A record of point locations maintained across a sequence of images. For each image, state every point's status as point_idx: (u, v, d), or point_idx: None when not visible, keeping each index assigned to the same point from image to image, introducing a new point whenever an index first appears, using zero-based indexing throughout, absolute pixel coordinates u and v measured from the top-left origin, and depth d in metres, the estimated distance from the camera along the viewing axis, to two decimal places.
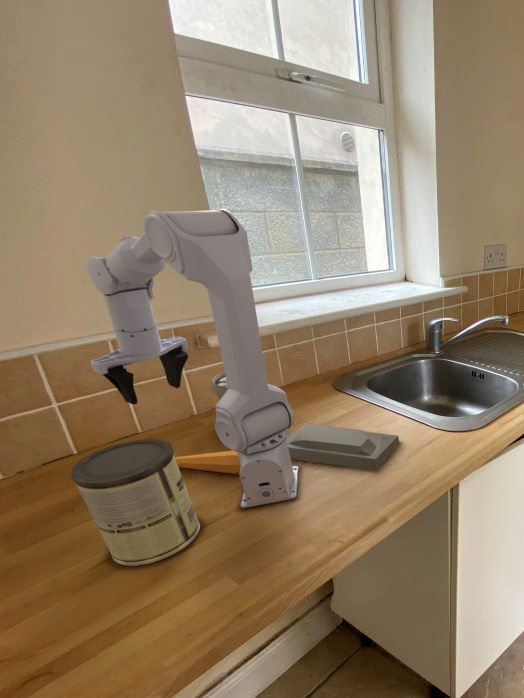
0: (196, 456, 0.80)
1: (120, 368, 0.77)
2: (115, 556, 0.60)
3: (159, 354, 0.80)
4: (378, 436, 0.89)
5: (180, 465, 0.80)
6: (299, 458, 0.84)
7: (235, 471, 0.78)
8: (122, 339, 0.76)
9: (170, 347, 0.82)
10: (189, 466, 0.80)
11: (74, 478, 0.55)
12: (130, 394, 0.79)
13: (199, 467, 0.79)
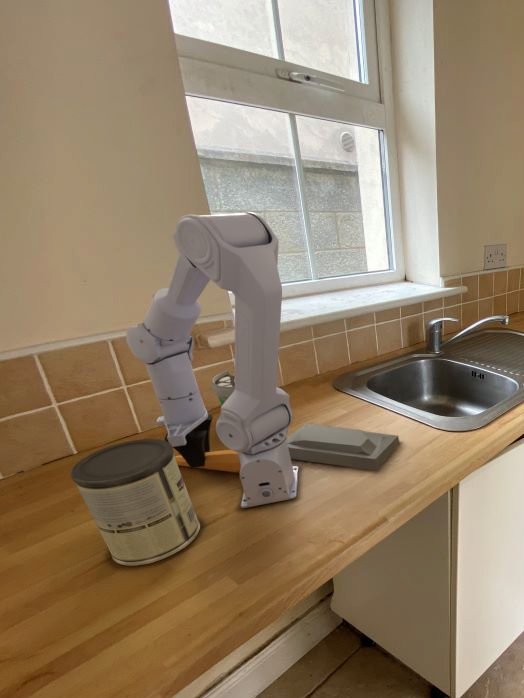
0: None
1: (191, 430, 0.76)
2: (115, 556, 0.60)
3: None
4: (378, 436, 0.89)
5: (181, 463, 0.80)
6: (299, 458, 0.84)
7: (236, 469, 0.79)
8: (181, 406, 0.73)
9: None
10: None
11: (74, 478, 0.55)
12: (203, 454, 0.78)
13: None
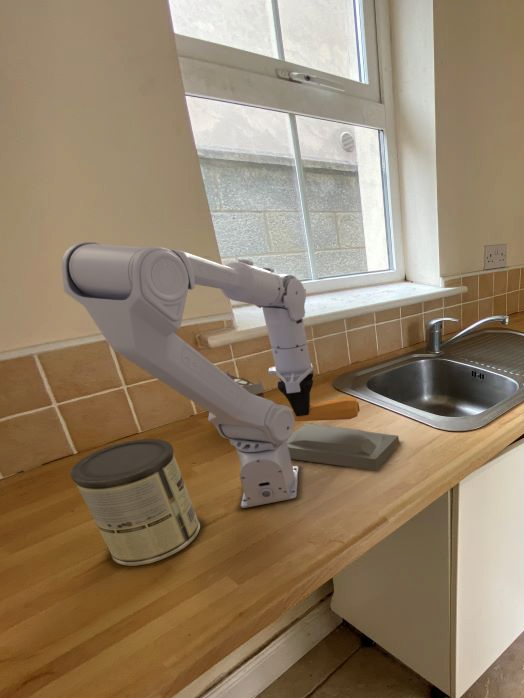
0: None
1: None
2: (115, 556, 0.60)
3: (312, 365, 0.82)
4: (378, 436, 0.89)
5: None
6: (299, 458, 0.84)
7: (351, 415, 0.86)
8: (294, 355, 0.77)
9: None
10: (297, 418, 0.83)
11: (74, 478, 0.55)
12: (309, 403, 0.82)
13: (309, 417, 0.84)
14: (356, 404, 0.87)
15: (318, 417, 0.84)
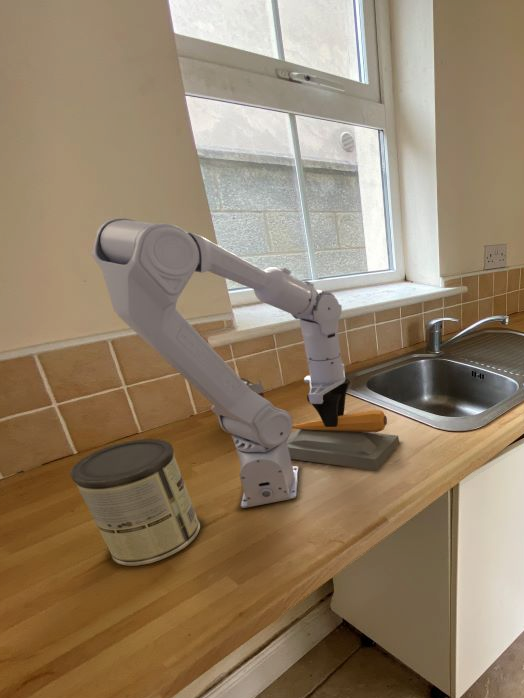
0: None
1: (329, 392, 0.82)
2: (115, 556, 0.60)
3: None
4: (378, 436, 0.89)
5: (317, 427, 0.87)
6: (299, 458, 0.84)
7: (375, 428, 0.87)
8: (323, 368, 0.80)
9: (343, 371, 0.87)
10: (327, 427, 0.87)
11: (74, 478, 0.55)
12: (336, 416, 0.84)
13: (338, 427, 0.87)
14: (382, 418, 0.87)
15: (346, 428, 0.87)
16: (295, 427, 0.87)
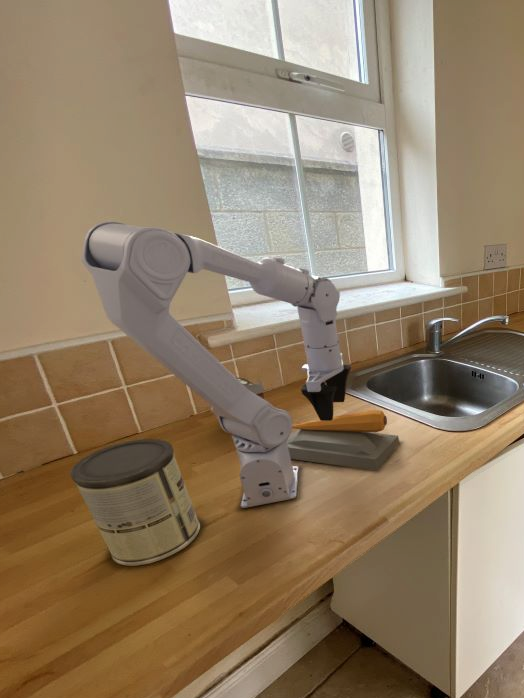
0: (333, 418, 0.87)
1: (324, 384, 0.79)
2: (115, 556, 0.60)
3: (343, 366, 0.84)
4: (378, 436, 0.89)
5: (317, 427, 0.87)
6: (299, 458, 0.84)
7: (375, 428, 0.87)
8: (321, 355, 0.79)
9: (342, 360, 0.86)
10: (327, 427, 0.87)
11: (74, 478, 0.55)
12: (331, 409, 0.82)
13: (338, 427, 0.87)
14: (382, 418, 0.87)
15: (346, 428, 0.87)
16: (295, 427, 0.87)
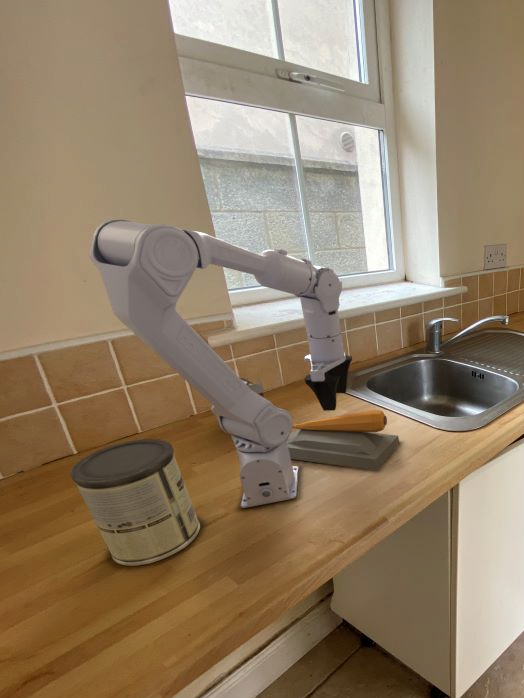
0: (333, 418, 0.87)
1: (327, 374, 0.80)
2: (115, 556, 0.60)
3: (345, 356, 0.84)
4: (378, 436, 0.89)
5: (317, 427, 0.87)
6: (299, 458, 0.84)
7: (375, 428, 0.87)
8: (324, 345, 0.79)
9: None
10: (327, 427, 0.87)
11: (74, 478, 0.55)
12: (335, 399, 0.82)
13: (338, 427, 0.87)
14: (382, 418, 0.87)
15: (346, 428, 0.87)
16: (295, 427, 0.87)
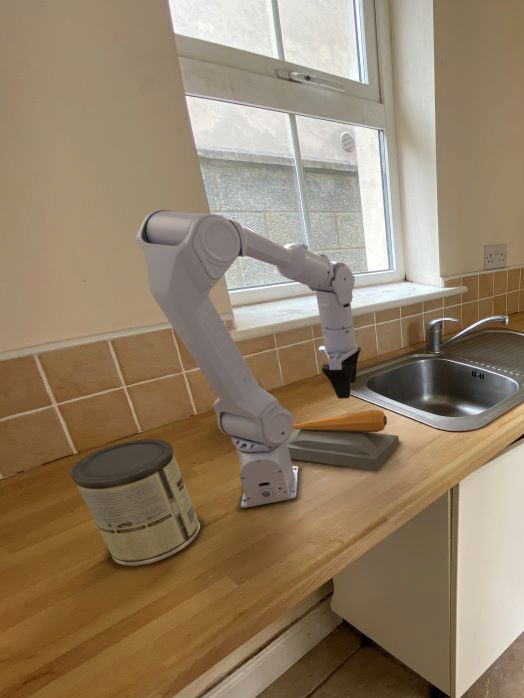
0: (333, 418, 0.87)
1: (342, 363, 0.85)
2: (115, 556, 0.60)
3: (357, 347, 0.89)
4: (378, 436, 0.89)
5: (317, 427, 0.87)
6: (299, 458, 0.84)
7: (375, 428, 0.87)
8: (339, 336, 0.84)
9: None
10: (327, 427, 0.87)
11: (74, 478, 0.55)
12: (349, 387, 0.87)
13: (338, 427, 0.87)
14: (382, 418, 0.87)
15: (346, 428, 0.87)
16: (295, 427, 0.87)
